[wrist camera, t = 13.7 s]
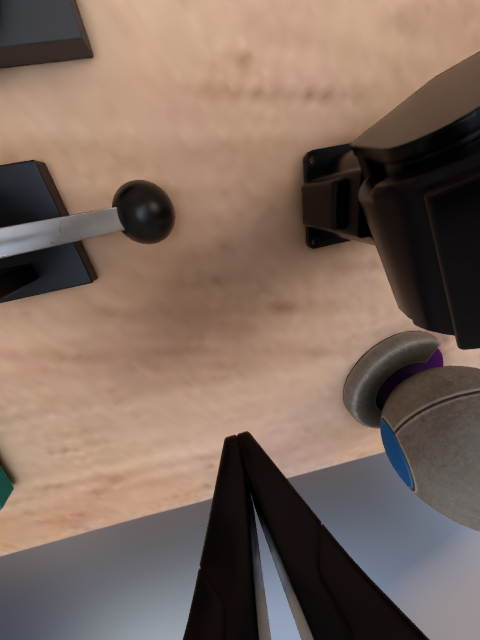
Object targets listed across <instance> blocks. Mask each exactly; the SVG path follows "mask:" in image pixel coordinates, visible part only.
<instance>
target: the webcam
mask: <svg viewBox="0 0 480 640" xmlns="http://www.w3.org/2000/svg"><path fill="white" fill-rule="evenodd" d="M439 345H440V341H439V340H438V339H437V338H435V337H434V336H432V335H430V334H428V333H425V332H417V331H413V332H406V333H402V334H398V335H395V336H393V337H391V338H388V339H386V340H385V341H383V342H381V343H380V344H378V345H376V346H375V347H374V348H372V349H371V350H370V351H369V352H368V353H367V354H365V355H364V356H363V357H362V358H361V360H360V361H359V362H358V363H357V364H356V366H355V367H354V368H353V370H352V371H351V373H350V375H349V377H348V379H347V382H346V384H345V388H344V403H345V406H346V408H347V410H348V411H349V412H350V413H351V415H352V416H353V417H354V418H355V419H356V420H357V421H358V422H359V423H361V424H363V425H365V426H367V427H371V428H381V436H382V441H383V445H384V448H385V451H386V454H387V456H388V458H389V460H390V462H391V464H392V466H393V467H394V469H395V470H396V472H397V473H398V475H399V476H400V477H401V478H402V480H403V481H404V482H405V484H406V485H407V486H408V487H409V488H410V489H411V490H412V491H413V492H414V493H415V494H416V495H417V496H418V497H419V498H420V499H422V500H423V501H424V502H425V503H427V504H428V505H429V506H431V507H432V508H434V509H435V510H436V511H438V512H439V513H441V514H443V515H445V516H446V517H448V518H450V519H452V520H453V521H455V522H457V523H459V524H461V525H464V526H466V527H469V528H472V529H474V530H477V531H480V369H478V368H472V367H464V366H445V367H443V357H442V354H441V352H440V350H439V349H438V347H439Z"/></svg>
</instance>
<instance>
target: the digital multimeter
mask: <svg viewBox="0 0 480 640" xmlns="http://www.w3.org/2000/svg"><path fill="white" fill-rule="evenodd" d="M13 489H14V487H13V485H12V484H11V482H10V480H9V479H8V477H7V475H6V474H5V472H4V470H3V469H2V467H1V465H0V510H1V509H2V508H3V506H4V504H5V503H6V501H7V499H8V497H9V496H10V494H11V492H12V491H13Z"/></svg>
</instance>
